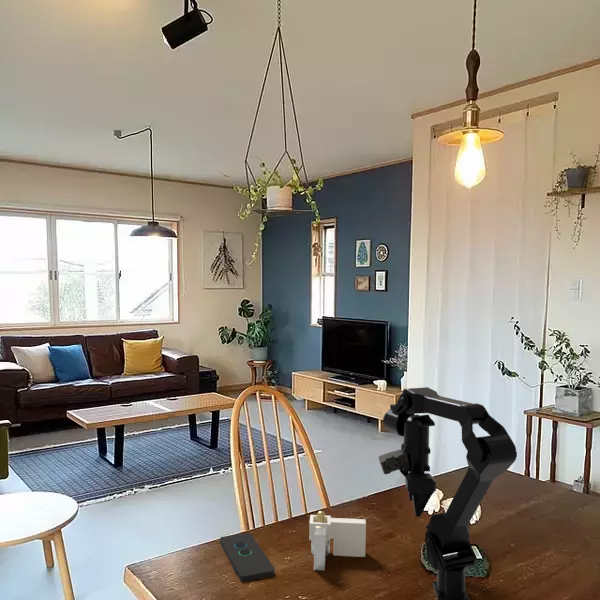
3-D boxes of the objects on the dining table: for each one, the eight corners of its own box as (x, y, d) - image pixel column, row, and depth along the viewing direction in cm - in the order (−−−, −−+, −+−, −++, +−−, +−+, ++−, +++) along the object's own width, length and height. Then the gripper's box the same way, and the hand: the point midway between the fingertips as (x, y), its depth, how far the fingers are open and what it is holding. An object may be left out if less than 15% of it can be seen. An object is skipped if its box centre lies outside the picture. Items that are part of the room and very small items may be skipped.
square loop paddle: (365, 559, 130) (366, 526, 130) (308, 556, 131) (309, 523, 131) (364, 549, 135) (365, 517, 135) (309, 546, 136) (310, 514, 136)
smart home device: (250, 531, 141) (276, 569, 122) (250, 538, 141) (276, 577, 122) (218, 536, 138) (240, 576, 119) (218, 543, 138) (240, 584, 119)
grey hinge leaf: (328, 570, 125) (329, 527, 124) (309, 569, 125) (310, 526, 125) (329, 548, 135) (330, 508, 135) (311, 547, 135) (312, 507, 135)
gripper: (378, 430, 138) (376, 492, 138) (385, 452, 119) (383, 523, 120) (423, 431, 137) (421, 493, 138) (437, 454, 119) (435, 525, 119)
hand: (414, 508), depth 128 cm, fingers open, 9 cm apart
